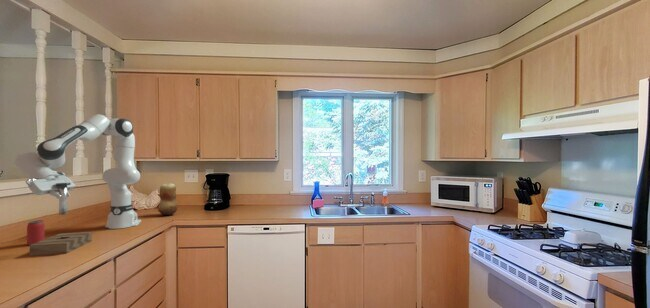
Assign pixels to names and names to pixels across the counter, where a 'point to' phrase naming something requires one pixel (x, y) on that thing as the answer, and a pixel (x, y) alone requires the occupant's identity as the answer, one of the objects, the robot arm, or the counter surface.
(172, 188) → the butternut squash
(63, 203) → the steel peg
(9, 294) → the counter surface
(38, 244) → the brown flat block
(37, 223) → the beer can
